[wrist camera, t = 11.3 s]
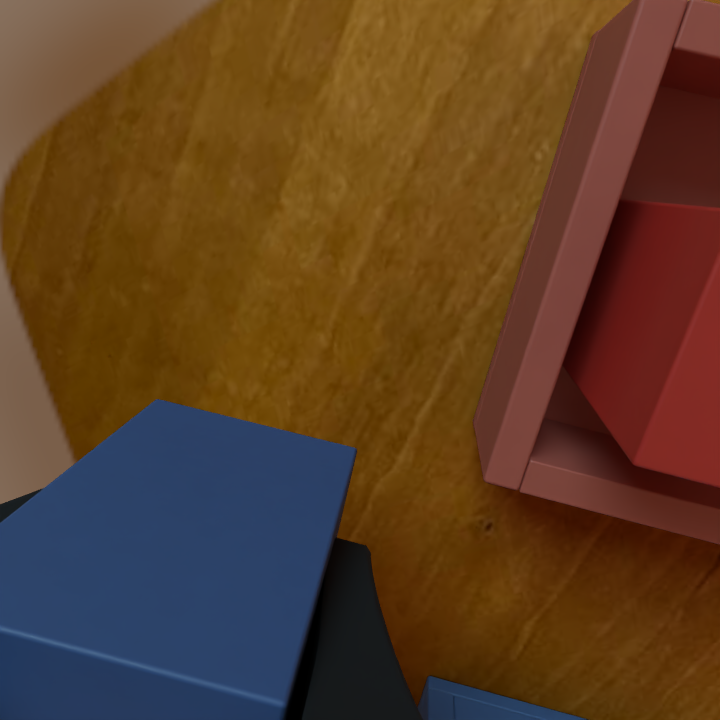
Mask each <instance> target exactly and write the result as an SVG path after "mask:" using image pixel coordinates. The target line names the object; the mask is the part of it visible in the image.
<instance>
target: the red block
mask: <svg viewBox="0 0 720 720" xmlns="http://www.w3.org/2000/svg"><path fill="white" fill-rule="evenodd" d="M562 366H563V367H564V369H565V370H566V371H567V373H568V374H569V376H570V377H571V378H572V380H573V381H574V383H575V384H576V385H577V387H578V388H579V390H580V391H581V392H582V394H583V395H584V397H585V398H586V399H587V401H588V402H589V404H590V405H591V406H592V408H593V409H594V411H595V412H596V413H597V415H598V416H599V418H600V419H601V420H602V422H603V423H604V425H605V426H606V427H607V429H608V430H609V432H610V433H611V434H612V436H613V437H614V439H615V440H616V441H617V443H618V444H619V446H620V447H621V448H622V450H623V451H624V453H625V454H626V455H627V457H628V458H629V460H630V461H631V462H632V464H633V465H635V466H637V467H641V468H645V469H649V470H653V471H657V472H660V473H664V474H668V475H672V476H676V477H680V478H684V479H687V480H691V481H695V482H699V483H703V484H707V485H711V486H714V487H718V488H720V208H716V207H704V206H693V205H682V204H671V203H660V202H648V201H637V200H626V199H620V200H619V203H618V206H617V209H616V212H615V214H614V217H613V220H612V223H611V226H610V229H609V232H608V235H607V237H606V240H605V243H604V246H603V249H602V252H601V255H600V258H599V260H598V263H597V266H596V269H595V272H594V275H593V278H592V281H591V283H590V286H589V289H588V292H587V295H586V298H585V301H584V304H583V306H582V309H581V312H580V315H579V318H578V321H577V324H576V327H575V330H574V332H573V335H572V338H571V341H570V344H569V347H568V350H567V353H566V355H565V358H564V361H563V364H562Z"/></svg>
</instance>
